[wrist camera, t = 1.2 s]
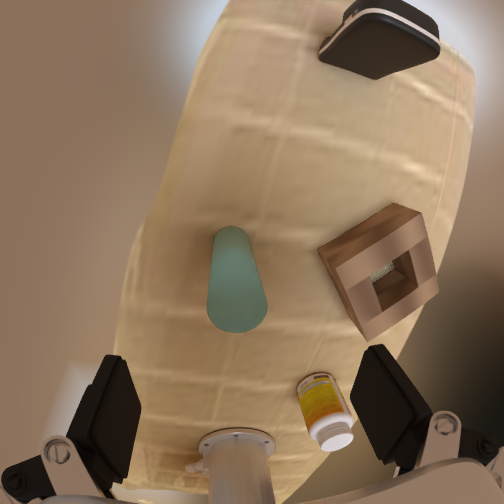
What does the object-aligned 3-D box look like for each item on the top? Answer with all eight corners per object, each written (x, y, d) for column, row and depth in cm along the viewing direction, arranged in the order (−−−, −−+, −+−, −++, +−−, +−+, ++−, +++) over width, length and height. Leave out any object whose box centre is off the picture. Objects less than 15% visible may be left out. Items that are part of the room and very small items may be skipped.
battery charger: (380, 53, 21) (448, 20, 11) (377, 82, 23) (451, 57, 12) (319, 30, 20) (369, -24, 10) (315, 60, 22) (369, 13, 11)
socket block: (349, 317, 31) (367, 342, 26) (317, 249, 28) (335, 268, 23) (415, 274, 30) (439, 291, 26) (393, 202, 27) (421, 212, 22)
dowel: (225, 266, 28) (227, 341, 16) (206, 238, 26) (194, 300, 15) (255, 249, 27) (277, 315, 16) (237, 219, 26) (248, 269, 15)
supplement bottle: (287, 390, 34) (303, 451, 25) (317, 365, 33) (342, 425, 24) (313, 402, 36) (333, 457, 26) (342, 379, 35) (368, 434, 25)
